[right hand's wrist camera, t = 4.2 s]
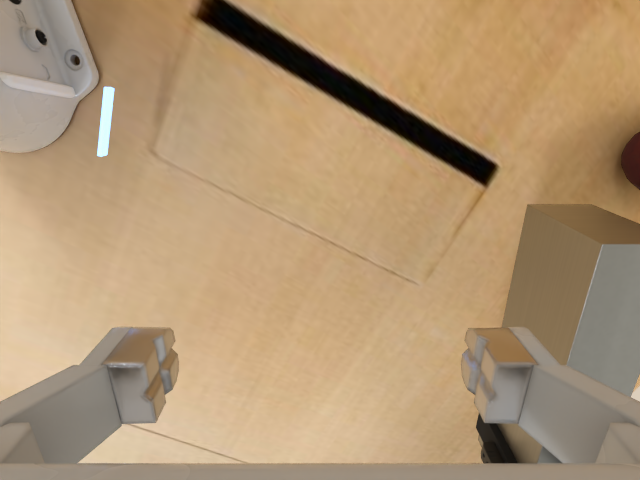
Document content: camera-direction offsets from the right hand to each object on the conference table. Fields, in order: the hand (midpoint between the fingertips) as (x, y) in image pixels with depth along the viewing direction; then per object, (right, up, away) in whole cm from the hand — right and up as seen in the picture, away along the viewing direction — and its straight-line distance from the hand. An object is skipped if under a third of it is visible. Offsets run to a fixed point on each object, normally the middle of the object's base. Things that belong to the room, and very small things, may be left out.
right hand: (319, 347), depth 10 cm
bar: (+19, -6, +24) cm, 31 cm away
